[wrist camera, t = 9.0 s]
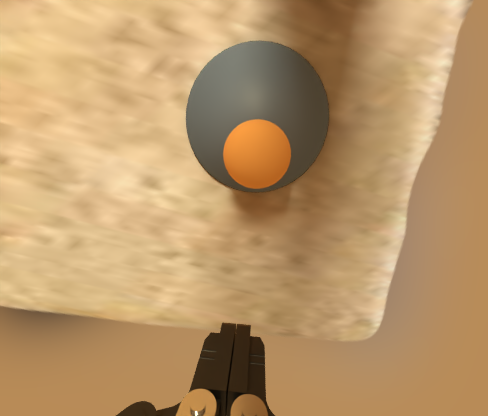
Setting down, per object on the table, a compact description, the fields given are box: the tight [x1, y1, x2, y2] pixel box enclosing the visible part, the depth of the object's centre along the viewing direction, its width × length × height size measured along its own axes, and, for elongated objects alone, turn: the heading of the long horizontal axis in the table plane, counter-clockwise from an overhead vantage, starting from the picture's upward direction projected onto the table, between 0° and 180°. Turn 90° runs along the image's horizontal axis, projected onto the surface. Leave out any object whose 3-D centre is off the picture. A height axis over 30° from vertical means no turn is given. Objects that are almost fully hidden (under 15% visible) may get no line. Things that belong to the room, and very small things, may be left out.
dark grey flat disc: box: [186, 41, 329, 192], centre depth 23 cm, size 14×14×1 cm
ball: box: [223, 119, 291, 189], centre depth 21 cm, size 6×6×6 cm
